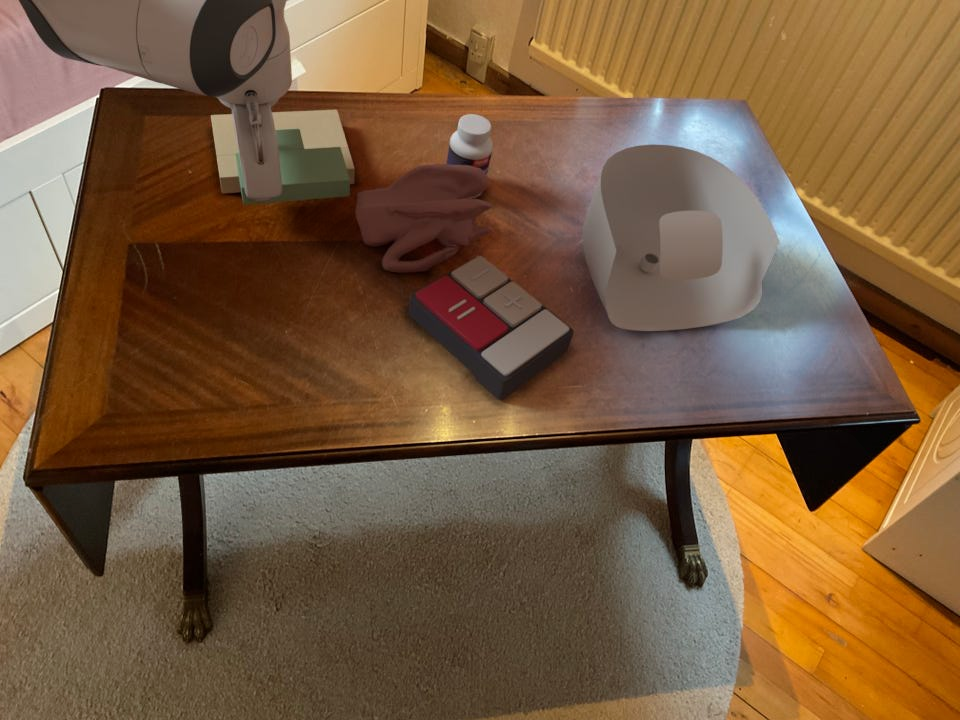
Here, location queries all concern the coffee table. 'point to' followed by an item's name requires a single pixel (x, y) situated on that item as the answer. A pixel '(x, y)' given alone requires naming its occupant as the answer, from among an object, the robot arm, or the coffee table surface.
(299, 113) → the beige pad
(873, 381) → the coffee table surface
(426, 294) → the calculator
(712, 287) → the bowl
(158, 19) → the robot arm
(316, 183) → the green pad
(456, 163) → the pill bottle
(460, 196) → the figurine
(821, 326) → the coffee table surface
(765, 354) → the coffee table surface
